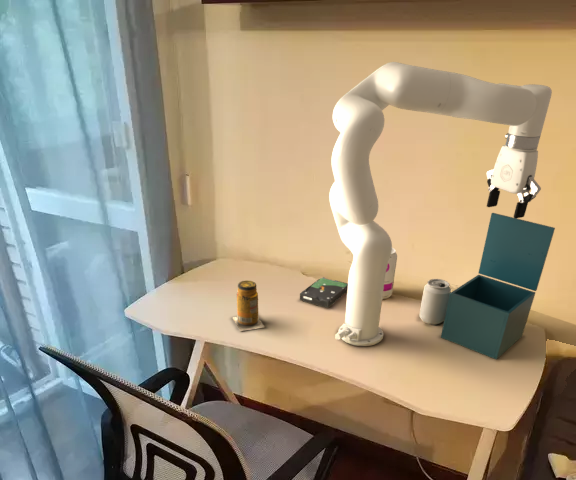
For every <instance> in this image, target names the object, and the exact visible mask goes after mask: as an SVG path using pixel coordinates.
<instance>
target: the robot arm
mask: <svg viewBox="0 0 576 480" xmlns="http://www.w3.org/2000/svg"><path fill="white" fill-rule="evenodd" d="M552 94H553V91H552V89H551V87H550V86H548V85H544V84H535V83H534V84H533V83H532V84H531V83H529V84H523V85H516V84H515V85H514V84H508V83H503V82H502V83H500V82H499V83H495V82H489V81H486V80H482V79H479V78H476V77H473V76H470V75H467V74H462V73H457V72H452V71H446V70H439V69H434V68H428V67H422V66H417V65H412V64H406V63H402V62H399V61H391V62H387V63H385V64H383V65H381V66H380V67H378V68H377V69H375V70H374V71H373V72H372V73H370V74H369V75H367V76H366V77H365V78H364V79H363V80H361V81H360V82H358V84H356V85H355V86H354V87H352V88H351V89H350V90H349V91H347V92H346V93H345V94H343V96H341V97H340V98H339V100H338V101H337V102H336V103H335V105H334V107H333V111H332V123H333V124H334V127H335V129H336V130H337V131H338V132H339V135H338V137H337V139H336V142H335V144H334V146H333V149H332V154H331V159H330V160H331V162H330V163H331V170H332V174H333V179H334V182H333V183H332V185H331V187H330V189H329V196H328V198H329V199H328V200H329V204H330V209H331V213H332V215H333V219H334V222H335V225H336V228H337V232H338V235H339V237H340V240H341V242H342V244H344V246H345V247H346V248H347V249H348V250H349V251H350V252H351V254H352V255H353V257H352V262H351V265H350V268H349V271H348V279H347V283H348V290H347V292H346V304H345V316H344V323H343V324H341V326H339V328H338V332H336V333H335V334H334V338H335V340H337V341H340V340H342V341H343V342H345V343H346V344H349V345H353V346H358V347H369V346H374V345H377V344H379V343H380V342H381V341H382V340H383V339H384V331H383V329H382V328H381V326H380V320H381V312H382V305H383V299H382V297H383V289H384V280H385V274H386V269H387V265H388V262H389V259H390V256H391V252H392V248H393V243H392V238H391V237H390V235H389V233H388V232H387V231H386V229H385V228H383V226H381V225H379V224H378V223H377V222H376V221H374V220H375V219H376V217H377V216H378V212H379V200H378V195H377V192H376V187H375V184H374V179H373V176H372V172H371V171H372V170H371V166H370V155H371V151H372V149H373V148H374V145H375V144H376V142H377V141H378V140H379V138H380V136H381V135H382V133H383V131H384V127H385V115H384V112H383V111H384V110H385V109H386V108H387V107H388V106H392V107H394V108H397V109H400V110H406V111H412V112H421V113H428V114H434V115H440V116H446V117H452V118H457V119H466V120H473V121H481V122H485V123H491V124H498V125H506V126H509V127H508V131H507V133H506V134H505V135H504V138H505V144H503V145H502V146H501V148H500V150H499V152H498V155H497V158H496V161H495V163H494V167H493V169H489V170H487V171H486V178H487V181H486V184H487V185H488V188H487V190H488V198H487V202H486V208H493V207H497V206H498V203H499V199H500V196H501V195H500V194H501V190H502V191H504V192H506V193H507V192H508V193H510V194H515V195H516V194H517V196H518V197H517V198H518V202H516V205H515V209H514V213H513V218H517V219H522V218H524V217H525V214H526V212H527V208H528V205H529V203H531V202H532V200H534V199H535V198H536V197H537V195H538V194H539V193H540V191H541V190H542V187H541V186H540V185H539V184H538V182H537V181H536V180H535V177H536V172H537V166H538V158H539V150H538V147H539V144H540V139H541V136H542V132H543V128H544V125H545V121H546V118H547V113H548V109H549V105H550V102H551V98H552Z"/></svg>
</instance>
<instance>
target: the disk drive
mask: <svg viewBox="0 0 576 480" xmlns="http://www.w3.org/2000/svg"><path fill="white" fill-rule="evenodd" d="M347 290H348V282H343V281H340V280H335V279H329V278H326V277H324V276H323V277H320V278H318V279H317V280H316V281H314V282H313V283H312V284H310V285H309V286H308V287H306V288H305V289H304V290H301V292H300V293H299V301H302V302H304V303H308V304H311V305H315V306H318V307H321V308H325V309H326V308H327V309H329V308H330V307H332V306H333V305H335V303H336V302H337V301H338V300H340V299H341V298H342V297H343V296H345V294H347Z"/></svg>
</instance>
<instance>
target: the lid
mask: <svg viewBox="0 0 576 480" xmlns="http://www.w3.org/2000/svg"><path fill="white" fill-rule="evenodd" d="M555 230H556V227H554V226H550V225H546V224H542V223H537V222H533V221H529V220H525V219H522V218H514V216H508V215H504V214H500V213H495V212H491V214H490V218H489V223H488V227H487V232H486V237H485V241H484V246H483V250H482V251H483V252H482V255H481V259H480V264H479V268H478V275H482V276H485V277H488V278H491V279H494V280H497V281H501V282H504V283H507V284H510V285H513V286H517V287H520V288H523V289H526V290H529V291H533V292H537V290H538V287H539V284H540V280H541V277H542V274H543V270H544V268H545V263H546V261H547V257H548V253H549V249H550V246H551V243H552V240H553V237H554V233H555Z"/></svg>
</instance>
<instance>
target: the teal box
mask: <svg viewBox="0 0 576 480" xmlns="http://www.w3.org/2000/svg"><path fill="white" fill-rule="evenodd" d="M536 293H537V291H533V290H530V289H527V288H524V287H520V286H517V285H514V284H511V283H508V282H504V281H501V280H498V279H495V278H492V277H488V276H485V275H482V274H476V275H475V276H474V277H472V278H471V279H469V280H467V281H466V282H465V283H463V284H462V285H460V286H459V287H457V288H456V289H454V290H453V291H451V292H450V296H449V300H448V305H447V310H446V315H445V320H444V321H443V326H442V329H441V335H440V338H441V339H443V340H446V341H449V342H451V343H453V344H454V343H455V344H456V345H459V346H462V347H464V348H467V349H469V350H471V351H474V352H476V353H479V354H481V355H483V356H486V357H489V358H492V359H494V360H498V359H499V358H500V357H501V356H502V355H503V354H505V352H507V351H508V350H509V349H510V348H511V347H512V346H514V345H515V344H516V342H518V341H519V340H520V339H521V338H522V337H523V335H524V331H525V329H526V325H527V321H528V318H529V315H530V312H531V309H532V306H533V302H534V300H535V295H536Z"/></svg>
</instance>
